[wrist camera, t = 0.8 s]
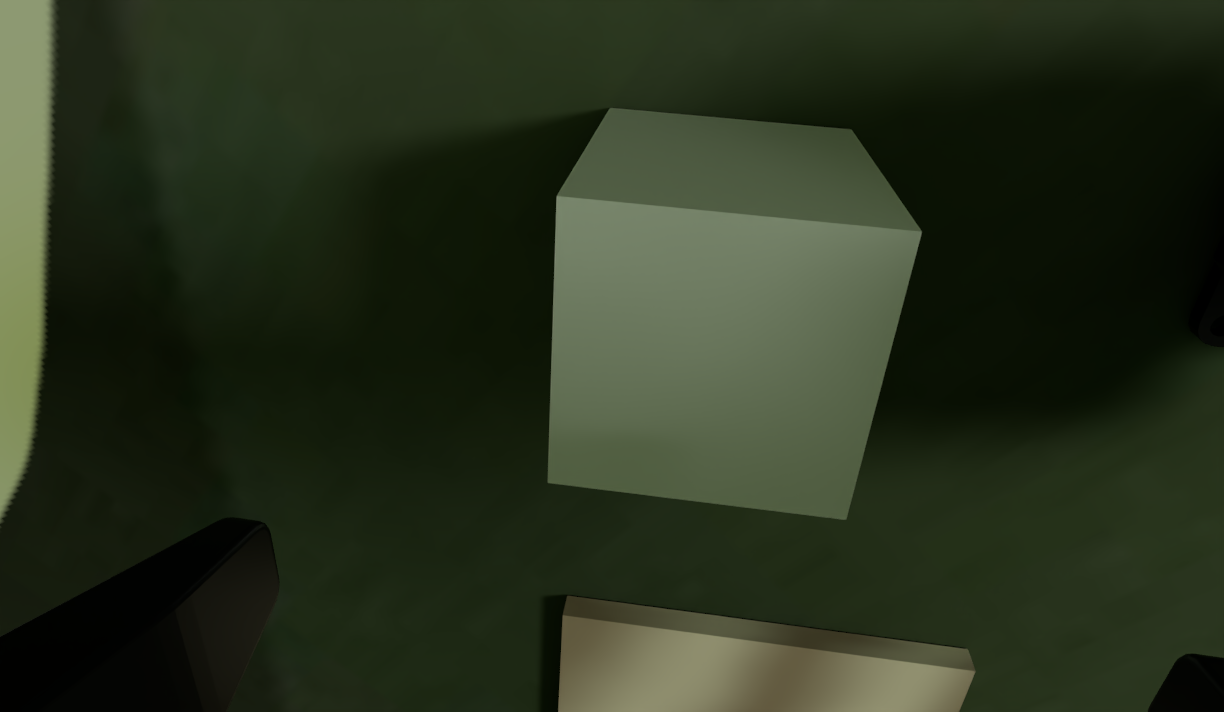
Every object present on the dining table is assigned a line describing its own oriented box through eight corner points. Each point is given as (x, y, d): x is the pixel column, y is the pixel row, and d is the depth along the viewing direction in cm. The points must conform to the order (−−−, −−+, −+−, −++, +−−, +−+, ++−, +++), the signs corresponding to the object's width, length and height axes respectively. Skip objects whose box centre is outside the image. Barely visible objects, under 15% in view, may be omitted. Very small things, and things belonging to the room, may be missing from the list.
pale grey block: (851, 129, 17) (922, 231, 11) (807, 344, 19) (846, 519, 14) (609, 108, 17) (556, 196, 11) (596, 321, 20) (547, 483, 14)
